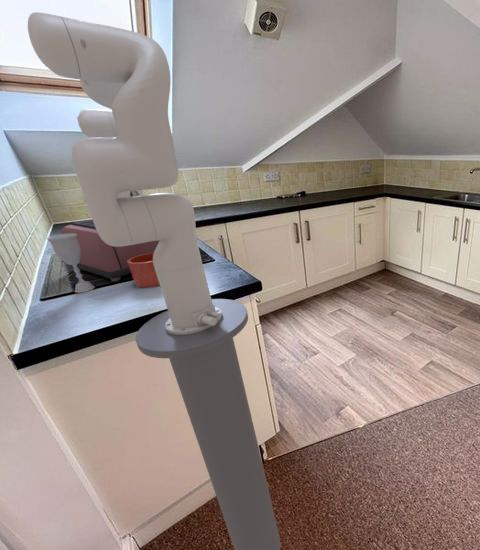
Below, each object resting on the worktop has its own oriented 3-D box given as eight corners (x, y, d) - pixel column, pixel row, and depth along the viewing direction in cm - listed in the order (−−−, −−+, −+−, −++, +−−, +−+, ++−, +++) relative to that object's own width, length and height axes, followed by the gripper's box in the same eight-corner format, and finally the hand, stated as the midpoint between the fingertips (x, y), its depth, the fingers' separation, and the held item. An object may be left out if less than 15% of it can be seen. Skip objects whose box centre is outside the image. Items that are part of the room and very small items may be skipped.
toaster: (206, 252, 132) (196, 212, 125) (112, 283, 102) (93, 232, 95) (165, 245, 145) (154, 208, 138) (71, 270, 115) (51, 224, 109)
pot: (182, 276, 106) (175, 254, 103) (148, 289, 97) (140, 265, 93) (162, 272, 111) (155, 250, 108) (128, 284, 101) (119, 260, 98)
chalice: (103, 286, 100) (82, 234, 93) (81, 294, 94) (57, 239, 87) (88, 284, 102) (66, 232, 95) (65, 292, 96) (40, 238, 89)
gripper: (143, 160, 87) (161, 222, 95) (113, 160, 94) (132, 218, 101) (114, 161, 81) (136, 227, 88) (84, 161, 88) (106, 223, 95)
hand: (133, 222), depth 95 cm, fingers closed on lid, 2 cm apart
